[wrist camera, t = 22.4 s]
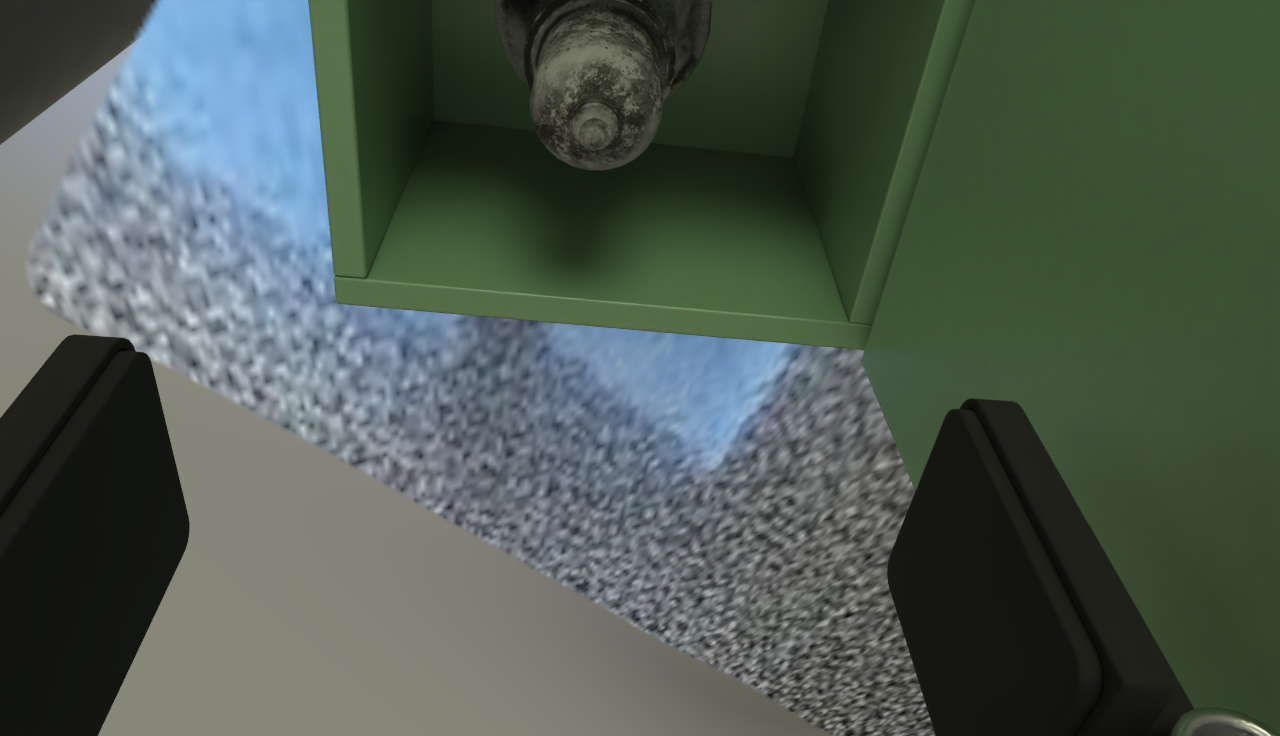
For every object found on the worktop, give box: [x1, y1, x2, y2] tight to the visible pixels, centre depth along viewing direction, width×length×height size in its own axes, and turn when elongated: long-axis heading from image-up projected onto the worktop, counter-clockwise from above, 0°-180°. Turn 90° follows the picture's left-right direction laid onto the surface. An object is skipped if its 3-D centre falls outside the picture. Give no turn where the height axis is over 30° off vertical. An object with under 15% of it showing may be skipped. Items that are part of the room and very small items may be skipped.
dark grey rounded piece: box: [494, 0, 712, 170], centre depth 23 cm, size 6×6×12 cm
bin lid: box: [861, 0, 1280, 733], centre depth 15 cm, size 14×12×5 cm
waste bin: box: [308, 0, 975, 350], centre depth 25 cm, size 14×12×11 cm
